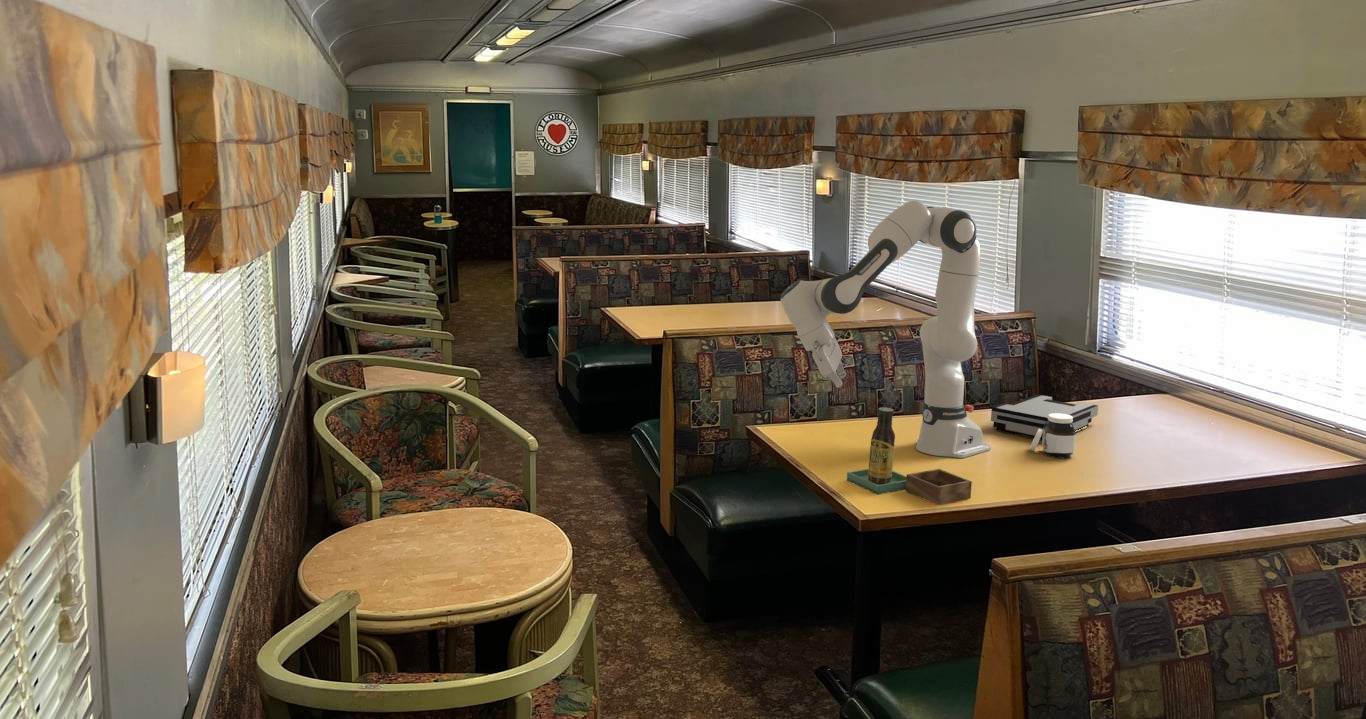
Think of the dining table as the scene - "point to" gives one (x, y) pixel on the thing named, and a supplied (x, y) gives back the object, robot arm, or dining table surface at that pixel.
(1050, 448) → the spread jar
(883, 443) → the sauce bottle
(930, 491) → the caddy
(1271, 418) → the dining table surface
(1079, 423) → the game console
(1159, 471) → the dining table surface
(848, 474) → the tray
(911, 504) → the dining table surface
